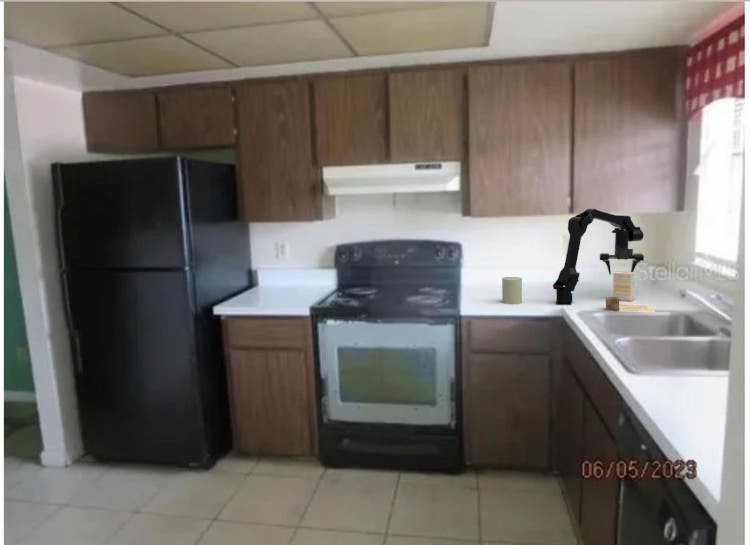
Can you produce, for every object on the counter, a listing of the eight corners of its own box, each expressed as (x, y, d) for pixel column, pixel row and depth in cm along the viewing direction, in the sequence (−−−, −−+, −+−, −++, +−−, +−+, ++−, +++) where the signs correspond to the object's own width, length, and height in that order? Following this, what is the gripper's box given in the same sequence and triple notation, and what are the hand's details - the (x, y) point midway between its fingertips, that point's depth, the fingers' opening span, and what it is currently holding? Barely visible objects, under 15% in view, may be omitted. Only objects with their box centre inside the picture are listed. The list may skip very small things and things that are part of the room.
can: (508, 299, 257) (508, 275, 256) (525, 301, 251) (525, 276, 249) (498, 302, 251) (498, 277, 249) (515, 305, 244) (515, 279, 243)
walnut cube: (606, 310, 226) (606, 299, 225) (605, 308, 231) (605, 297, 230) (619, 310, 224) (619, 299, 223) (618, 308, 229) (618, 296, 228)
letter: (618, 311, 223) (618, 311, 223) (615, 304, 238) (615, 303, 238) (655, 313, 218) (655, 312, 218) (650, 305, 233) (650, 304, 233)
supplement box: (634, 300, 244) (635, 272, 243) (631, 302, 241) (632, 273, 239) (615, 298, 250) (616, 271, 248) (612, 300, 246) (613, 272, 245)
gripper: (600, 243, 246) (600, 277, 248) (645, 243, 239) (644, 278, 242) (599, 241, 256) (599, 273, 258) (642, 241, 250) (641, 274, 252)
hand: (620, 274), depth 252 cm, fingers open, 9 cm apart
